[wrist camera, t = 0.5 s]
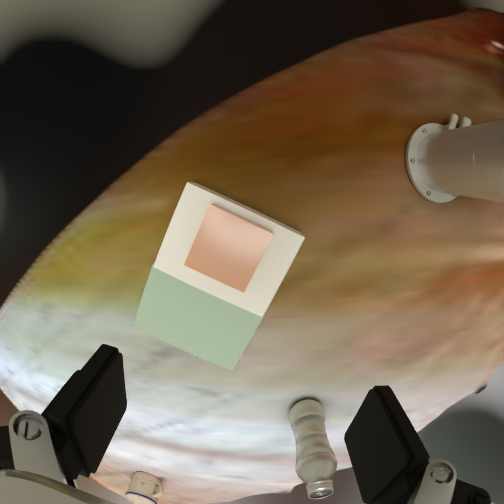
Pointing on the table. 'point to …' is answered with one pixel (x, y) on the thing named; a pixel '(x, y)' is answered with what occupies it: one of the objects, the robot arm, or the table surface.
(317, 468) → the plastic bottle
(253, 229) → the terracotta tile
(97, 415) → the robot arm
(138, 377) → the table surface
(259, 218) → the painted board
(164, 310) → the rubber mat
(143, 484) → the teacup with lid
